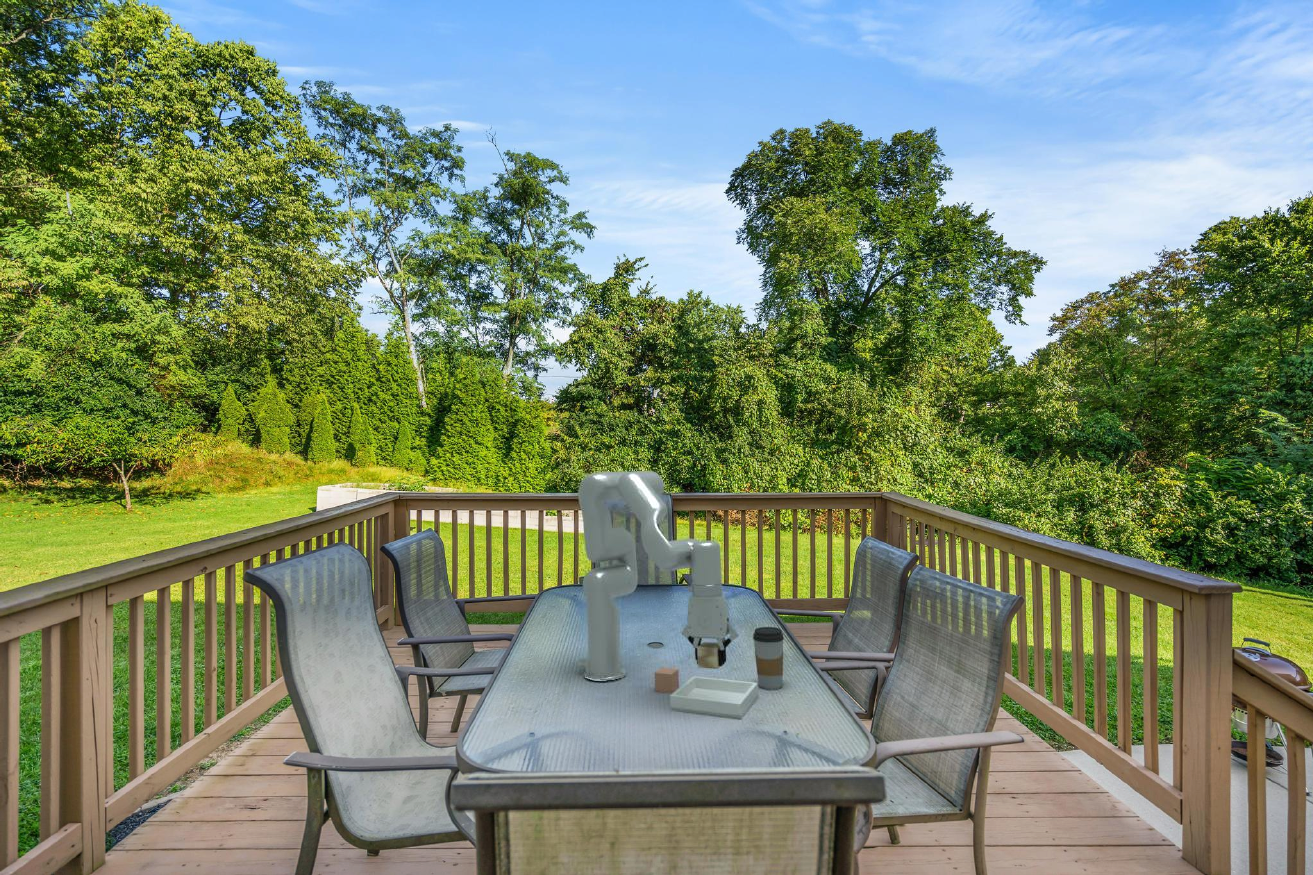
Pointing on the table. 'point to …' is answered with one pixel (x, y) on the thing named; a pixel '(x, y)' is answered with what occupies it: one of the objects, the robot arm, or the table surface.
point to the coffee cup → (769, 656)
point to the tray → (715, 697)
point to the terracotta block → (666, 680)
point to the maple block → (708, 655)
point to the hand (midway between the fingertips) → (710, 663)
